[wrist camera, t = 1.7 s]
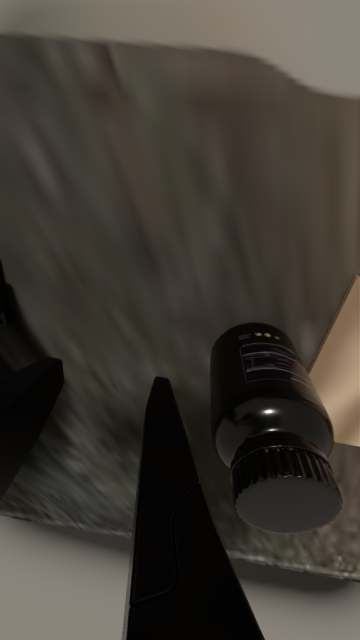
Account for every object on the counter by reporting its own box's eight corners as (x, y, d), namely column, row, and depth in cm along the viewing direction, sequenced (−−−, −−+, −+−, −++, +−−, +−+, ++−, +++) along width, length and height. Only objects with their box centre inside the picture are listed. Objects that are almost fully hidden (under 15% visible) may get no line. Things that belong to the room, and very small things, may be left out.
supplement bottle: (279, 391, 25) (331, 556, 14) (204, 378, 25) (199, 533, 14) (306, 325, 21) (400, 479, 11) (218, 312, 21) (227, 450, 11)
